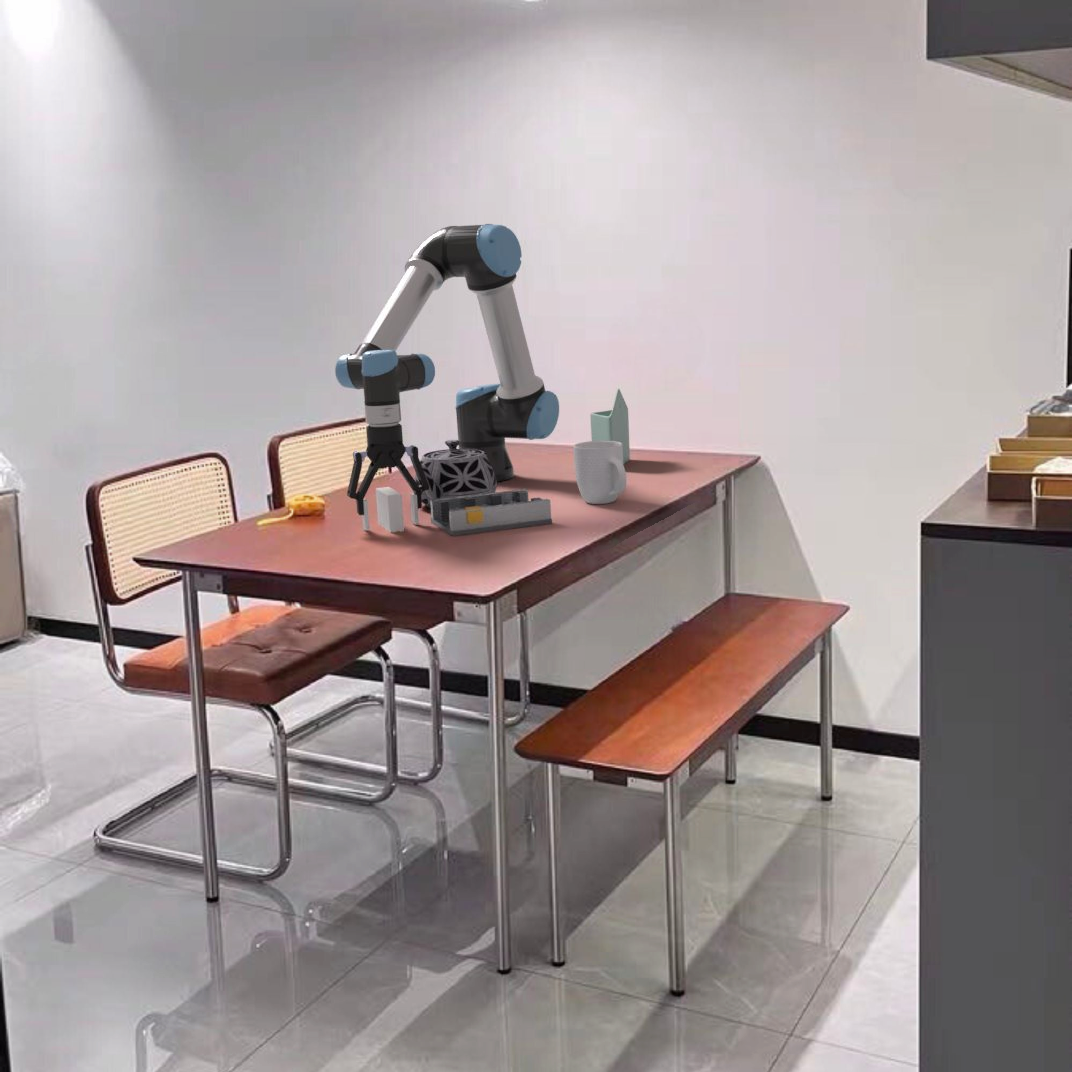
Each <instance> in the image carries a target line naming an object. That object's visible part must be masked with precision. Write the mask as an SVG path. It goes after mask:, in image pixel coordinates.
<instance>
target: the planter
mask: <svg viewBox="0 0 1072 1072" xmlns="http://www.w3.org/2000/svg"><path fill="white" fill-rule="evenodd" d="M614 397H615V398H614V401H613V402H614V403H613V405H612V409H610V410H603V411H596V412H591V413H590V415H589V416H590V434H591V435H590V436H591V437H590V438H591V441H616V442H620V443H622V448H623V465H624V464H626V463H628V461H630V459H631V458H630V457H631V453H630V427H629V407H628V405H627V402H626V400H625V398H624V397H623V394H622V392H621V390H620V388H617V390H616V393H615V396H614Z"/></svg>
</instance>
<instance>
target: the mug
mask: <svg viewBox="0 0 1072 1072" xmlns="http://www.w3.org/2000/svg"><path fill="white" fill-rule="evenodd" d="M573 461H574V462H573V463H574V475H575V479H576V484H577V487H578V490H579V493H580V495H581V497H582V499H583V500H584V502H586V503H587V504H590V505H604V504H611V503H614V502H615V501H616V499H617V498H618V496H620V495H621V494H623V493H624V491H626V487H627V473H626V469H625V466H624V464H623V448H622V443H620V442H616V441H592V440H590V441H589V440H588V441H584V442H579V443H575V444H574V445H573Z"/></svg>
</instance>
